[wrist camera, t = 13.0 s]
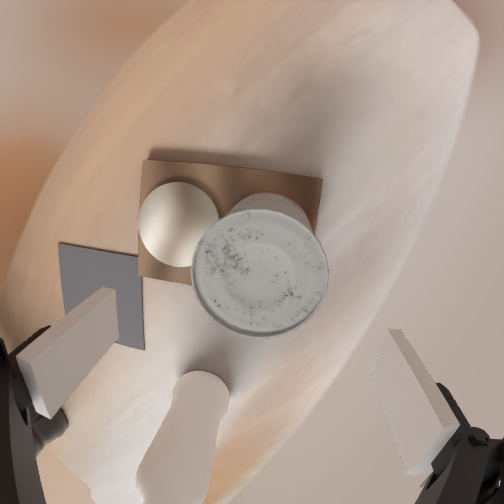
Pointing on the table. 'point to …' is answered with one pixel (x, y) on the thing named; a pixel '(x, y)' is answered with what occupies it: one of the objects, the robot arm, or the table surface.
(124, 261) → the mat
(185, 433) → the bottle
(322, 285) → the grey marbled cylinder
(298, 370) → the table surface
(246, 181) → the board
